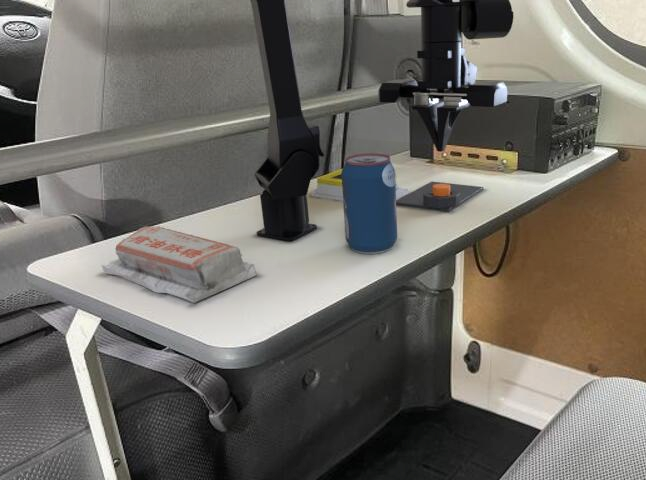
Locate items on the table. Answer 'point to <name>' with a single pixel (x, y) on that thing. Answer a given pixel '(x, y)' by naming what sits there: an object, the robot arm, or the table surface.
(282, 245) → the table surface
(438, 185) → the button
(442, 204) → the scale
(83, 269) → the table surface
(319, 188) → the emergency button
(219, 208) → the table surface
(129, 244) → the packaged product
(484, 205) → the table surface
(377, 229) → the soda can
